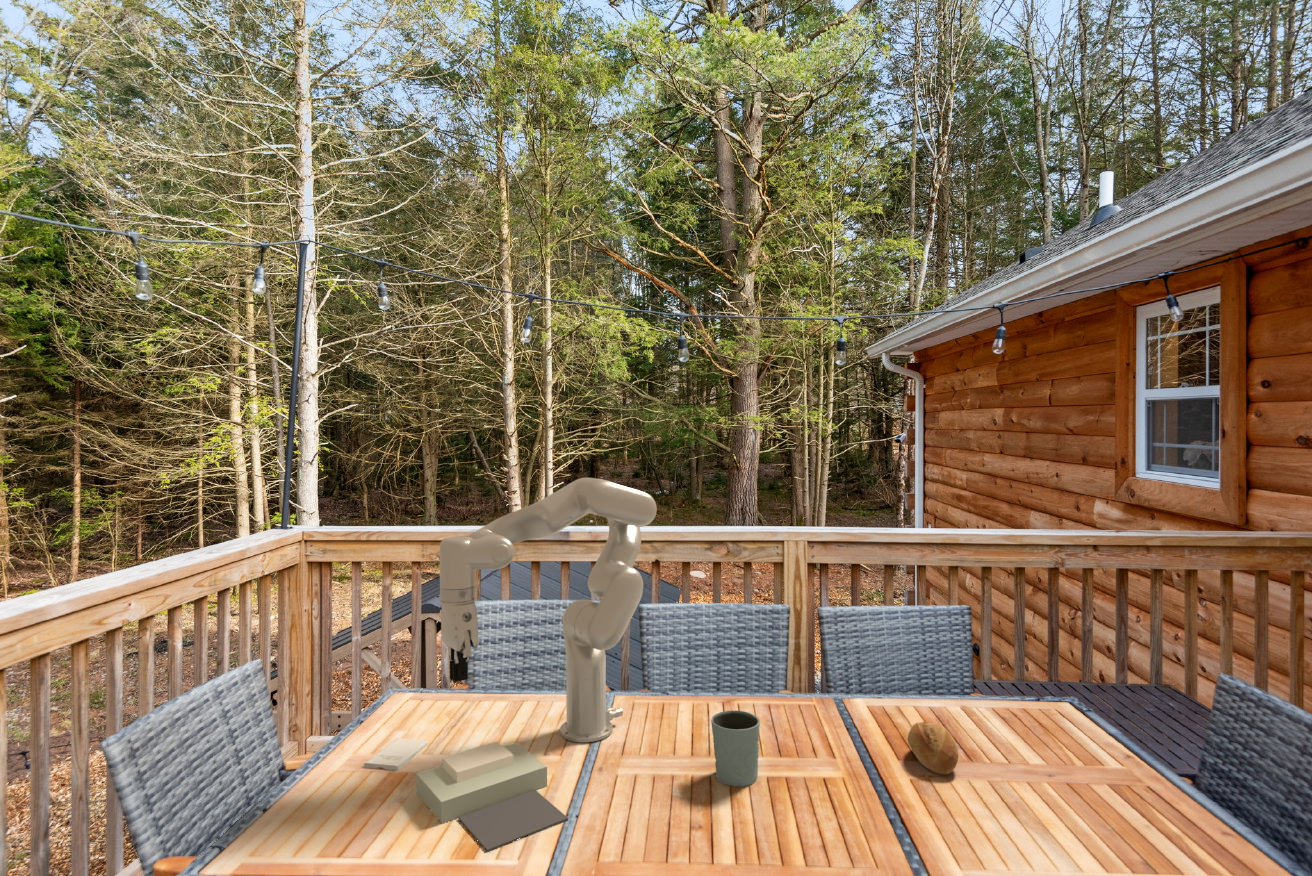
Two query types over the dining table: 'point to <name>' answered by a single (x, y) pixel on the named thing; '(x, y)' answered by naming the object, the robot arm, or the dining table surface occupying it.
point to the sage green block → (480, 786)
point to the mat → (512, 820)
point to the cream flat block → (477, 761)
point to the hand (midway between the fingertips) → (458, 679)
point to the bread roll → (933, 747)
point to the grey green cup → (736, 747)
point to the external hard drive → (396, 754)
